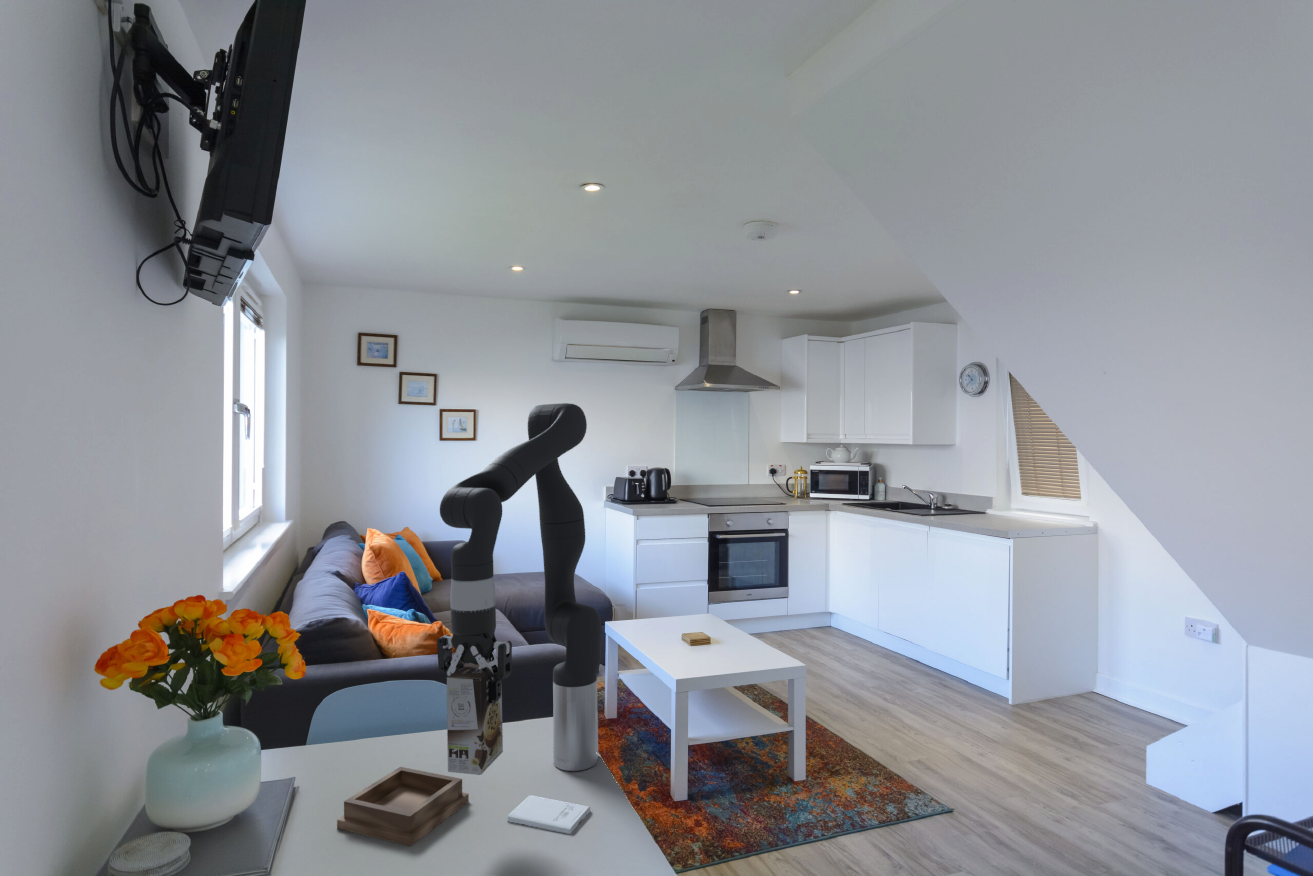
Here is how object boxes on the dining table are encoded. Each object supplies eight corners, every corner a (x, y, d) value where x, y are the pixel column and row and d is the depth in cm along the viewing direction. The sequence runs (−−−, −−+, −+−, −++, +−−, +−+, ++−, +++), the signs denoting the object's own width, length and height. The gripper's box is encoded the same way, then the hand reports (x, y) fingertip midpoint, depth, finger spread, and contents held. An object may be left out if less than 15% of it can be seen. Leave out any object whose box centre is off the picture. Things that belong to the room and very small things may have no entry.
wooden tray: (400, 787, 143) (400, 764, 143) (468, 801, 138) (468, 777, 138) (337, 828, 129) (336, 802, 129) (410, 846, 123) (410, 819, 123)
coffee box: (482, 776, 121) (480, 678, 121) (446, 773, 122) (444, 676, 122) (504, 752, 130) (502, 661, 130) (470, 749, 131) (469, 659, 131)
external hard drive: (530, 802, 138) (590, 814, 134) (507, 824, 130) (570, 837, 126) (530, 794, 138) (590, 805, 134) (507, 815, 130) (569, 828, 126)
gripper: (521, 601, 127) (522, 696, 127) (452, 596, 132) (454, 687, 132) (496, 612, 120) (498, 712, 120) (424, 605, 125) (426, 702, 125)
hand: (475, 699), depth 126 cm, fingers closed on coffee box, 7 cm apart
